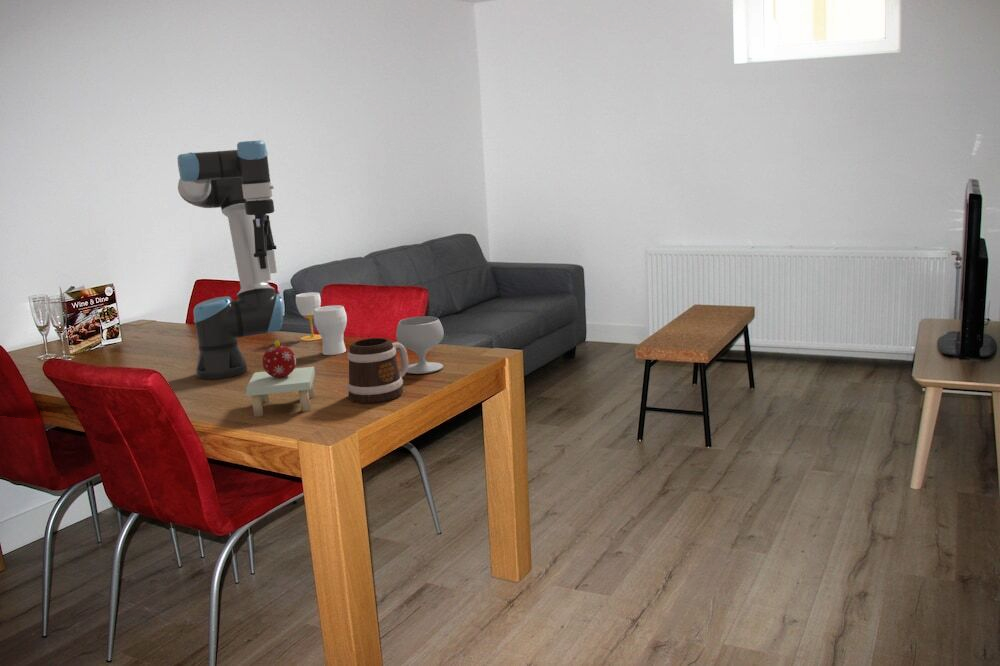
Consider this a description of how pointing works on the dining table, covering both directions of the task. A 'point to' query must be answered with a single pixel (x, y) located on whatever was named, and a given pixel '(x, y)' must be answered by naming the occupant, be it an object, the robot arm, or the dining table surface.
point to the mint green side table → (281, 387)
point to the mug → (375, 370)
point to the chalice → (420, 340)
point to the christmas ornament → (279, 361)
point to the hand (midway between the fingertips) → (268, 276)
